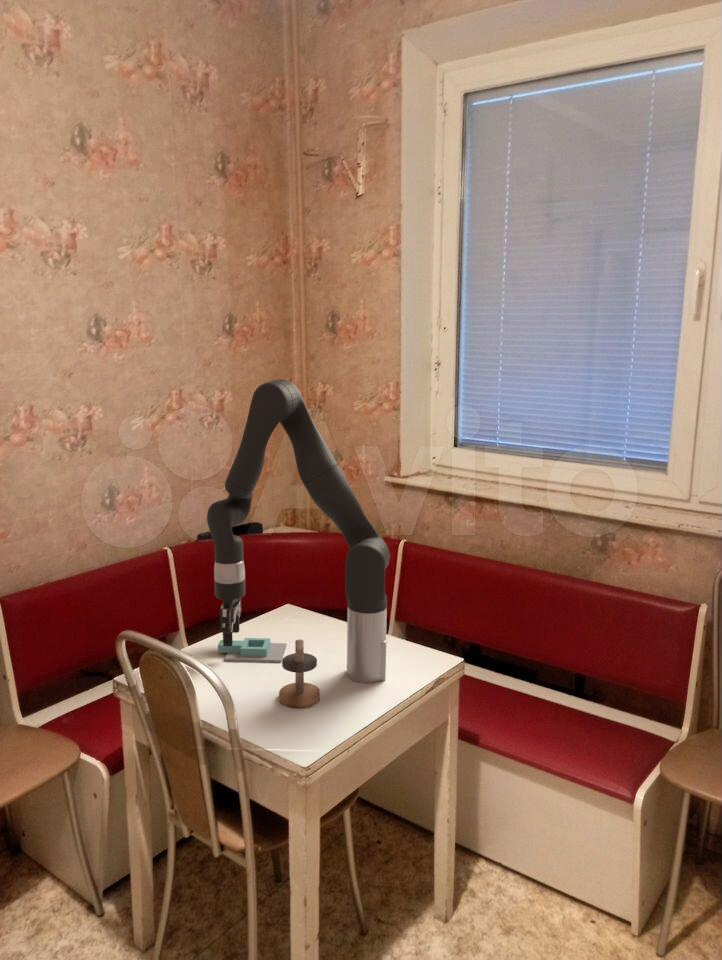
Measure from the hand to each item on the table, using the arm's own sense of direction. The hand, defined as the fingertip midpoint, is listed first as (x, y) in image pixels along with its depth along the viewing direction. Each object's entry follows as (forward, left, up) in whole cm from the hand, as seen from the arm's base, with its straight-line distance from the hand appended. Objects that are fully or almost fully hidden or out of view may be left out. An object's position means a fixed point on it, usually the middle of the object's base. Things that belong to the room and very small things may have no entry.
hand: (231, 638), depth 179 cm
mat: (-6, 0, -4) cm, 7 cm away
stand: (-20, +23, -4) cm, 30 cm away
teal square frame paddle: (-3, 0, -3) cm, 4 cm away
